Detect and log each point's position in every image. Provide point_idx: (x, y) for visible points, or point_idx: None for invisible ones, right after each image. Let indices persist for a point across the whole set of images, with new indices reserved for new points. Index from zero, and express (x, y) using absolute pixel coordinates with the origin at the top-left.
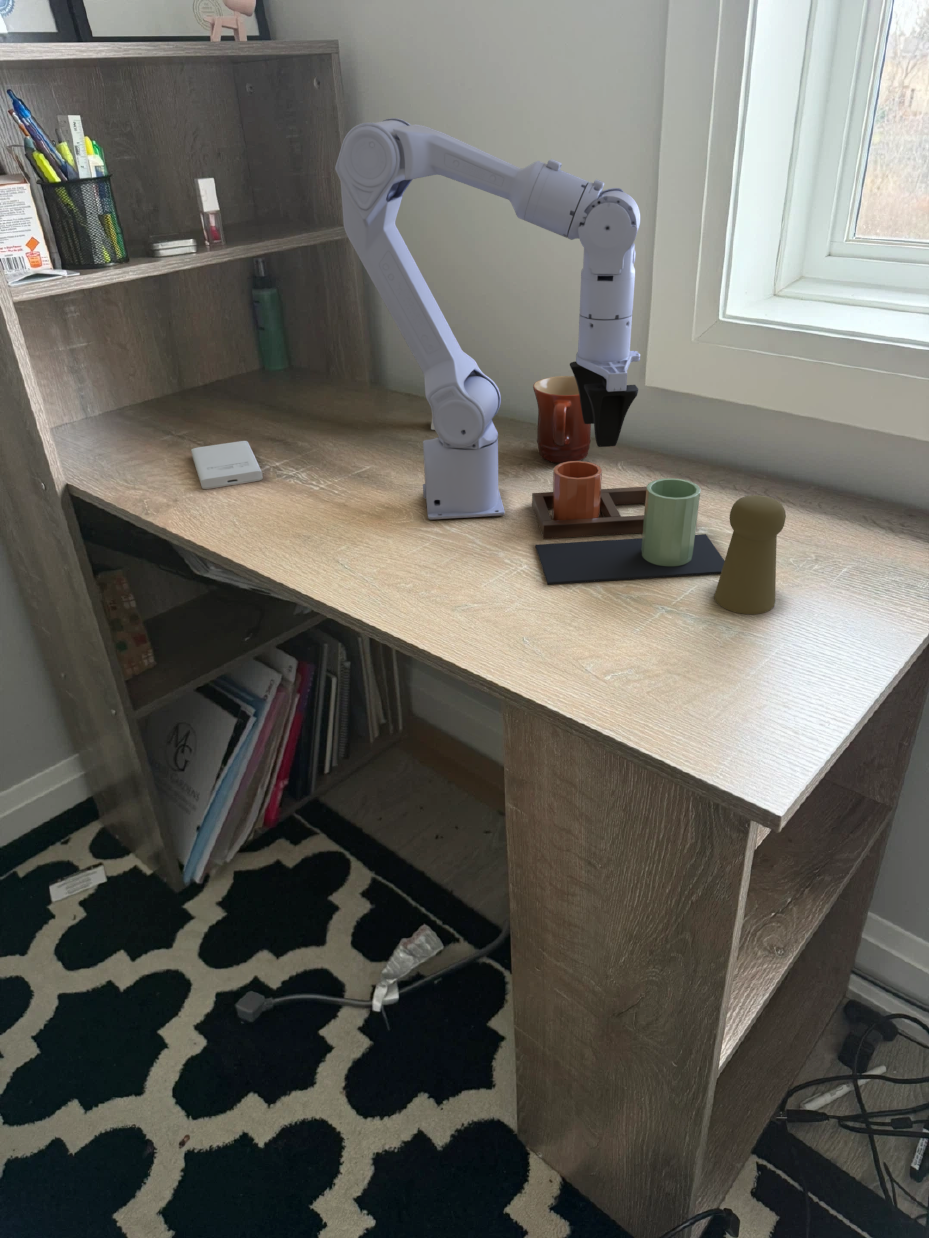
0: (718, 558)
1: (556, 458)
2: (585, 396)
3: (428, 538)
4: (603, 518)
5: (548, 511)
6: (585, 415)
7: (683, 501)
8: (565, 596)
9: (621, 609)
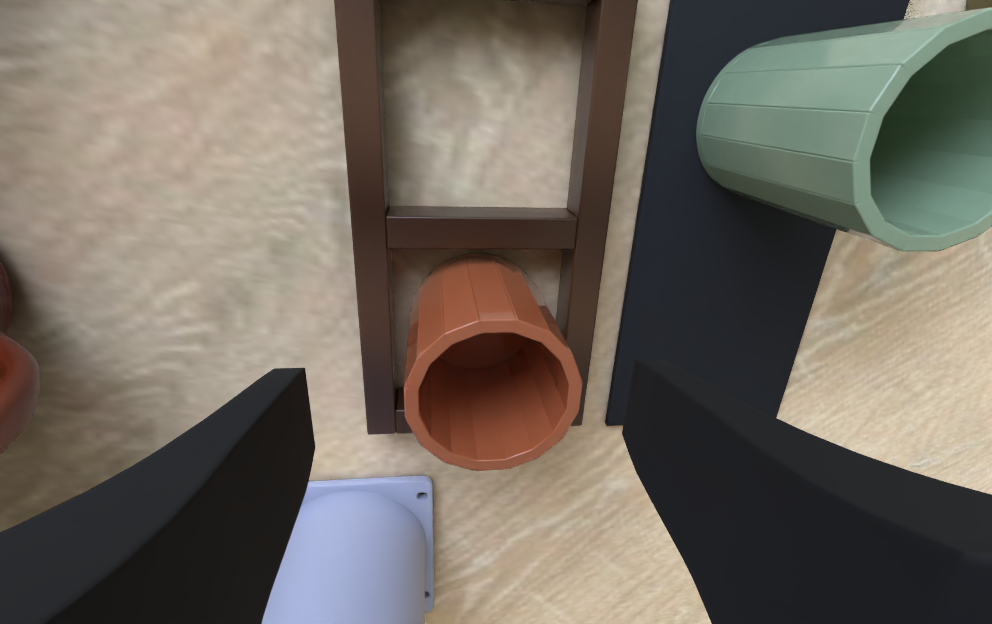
0: None
1: (3, 321)
2: (257, 586)
3: (513, 596)
4: (581, 274)
5: None
6: (303, 482)
7: None
8: (825, 389)
9: (920, 295)
